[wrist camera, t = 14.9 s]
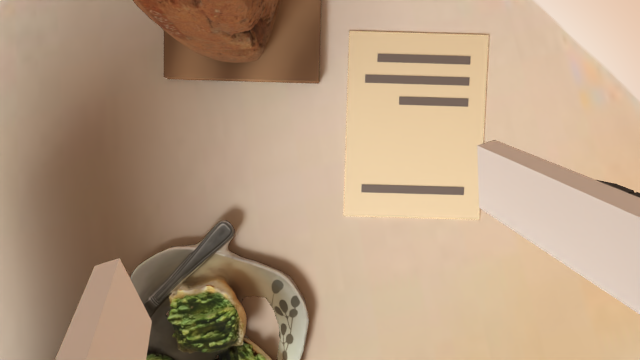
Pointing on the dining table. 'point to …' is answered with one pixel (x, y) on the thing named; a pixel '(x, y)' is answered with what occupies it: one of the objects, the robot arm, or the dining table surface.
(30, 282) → the dining table surface
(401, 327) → the dining table surface
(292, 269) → the dining table surface
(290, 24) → the plate
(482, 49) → the letter
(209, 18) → the brown tall rough part
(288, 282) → the salad plate
